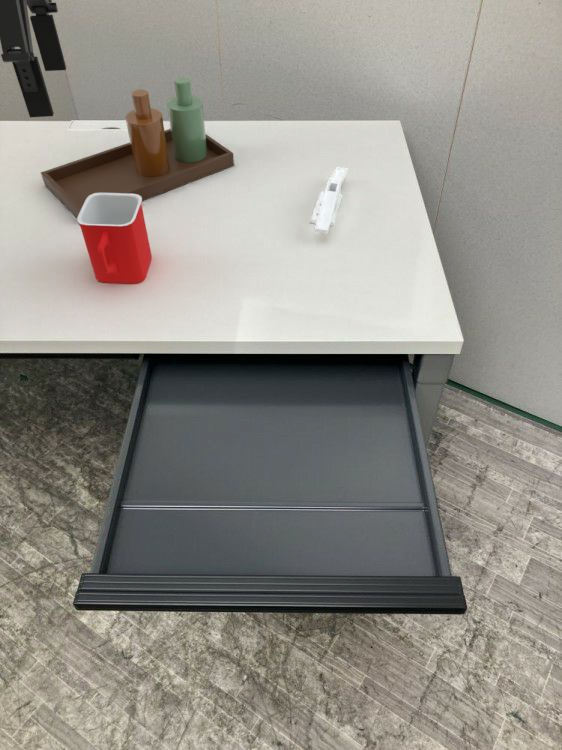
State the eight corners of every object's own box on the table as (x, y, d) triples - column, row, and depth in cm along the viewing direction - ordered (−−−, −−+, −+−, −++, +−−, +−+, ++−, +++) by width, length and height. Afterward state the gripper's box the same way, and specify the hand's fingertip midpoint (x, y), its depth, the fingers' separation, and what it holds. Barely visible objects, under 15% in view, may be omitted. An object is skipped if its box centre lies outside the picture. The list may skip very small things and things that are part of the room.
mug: (105, 250, 96) (89, 192, 88) (155, 252, 96) (144, 194, 88) (85, 300, 88) (65, 240, 80) (140, 302, 88) (126, 242, 80)
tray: (82, 224, 101) (78, 211, 99) (44, 185, 109) (40, 172, 107) (234, 165, 114) (233, 153, 112) (190, 134, 122) (189, 122, 120)
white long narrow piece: (303, 241, 98) (304, 212, 94) (325, 179, 111) (327, 151, 107) (327, 245, 97) (329, 216, 93) (347, 182, 110) (349, 154, 106)
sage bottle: (185, 166, 112) (176, 91, 102) (168, 152, 116) (157, 78, 105) (213, 155, 115) (207, 81, 104) (195, 142, 118) (187, 69, 108)
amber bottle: (146, 180, 109) (132, 104, 98) (129, 166, 112) (114, 91, 102) (176, 169, 111) (165, 94, 101) (158, 156, 115) (146, 81, 104)
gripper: (3, -96, 52) (68, 136, 68) (42, -144, 68) (87, 51, 84) (-86, -93, 52) (1, 140, 68) (-25, -143, 68) (33, 54, 84)
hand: (49, 91), depth 76 cm, fingers open, 13 cm apart
